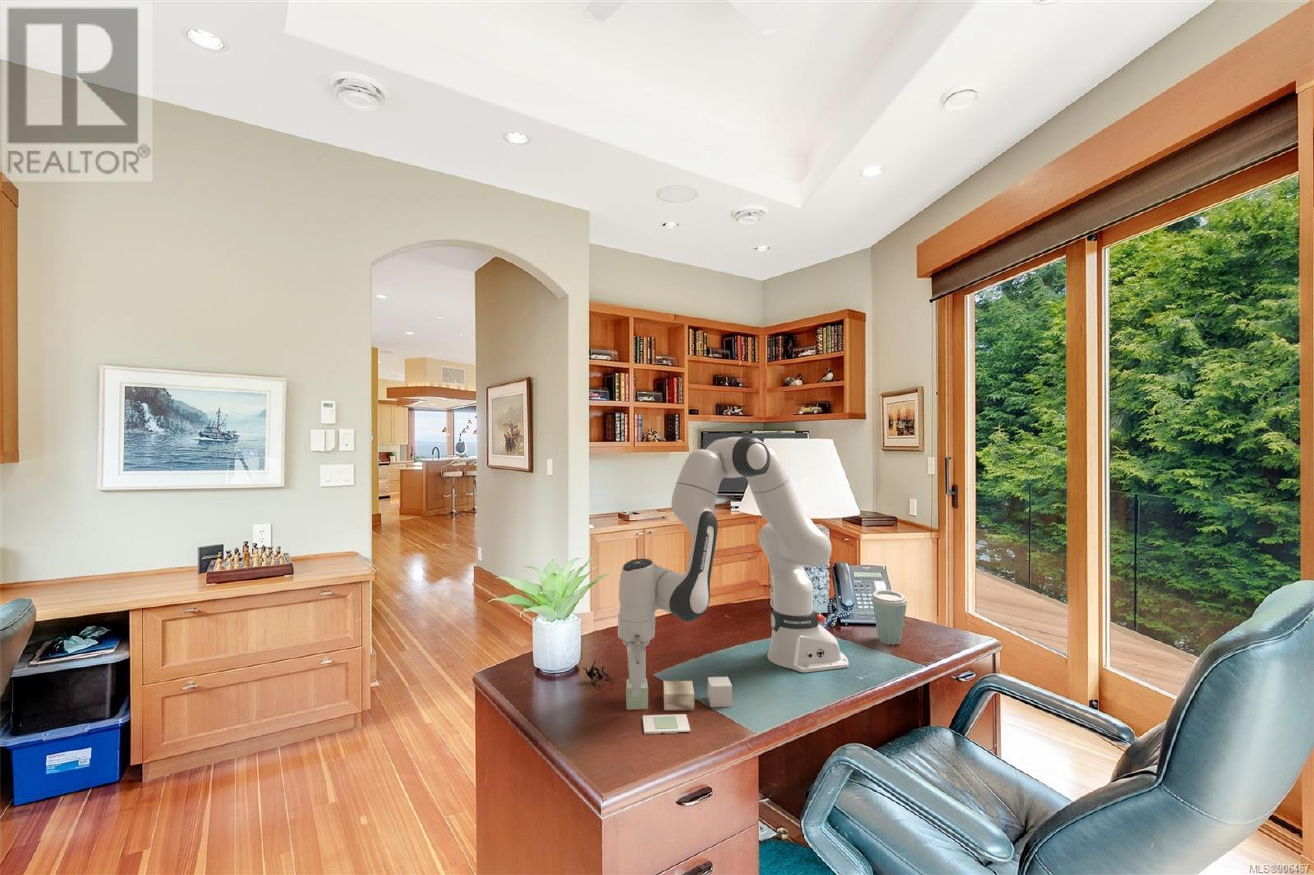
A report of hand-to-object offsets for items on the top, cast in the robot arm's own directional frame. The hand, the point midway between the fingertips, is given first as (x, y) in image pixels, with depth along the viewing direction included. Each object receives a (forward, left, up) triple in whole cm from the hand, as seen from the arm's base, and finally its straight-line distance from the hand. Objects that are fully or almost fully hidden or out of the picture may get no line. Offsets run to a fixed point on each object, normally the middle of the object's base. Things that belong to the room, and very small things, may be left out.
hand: (635, 686), depth 132 cm
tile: (-6, +10, -4) cm, 13 cm away
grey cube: (-20, 0, -4) cm, 21 cm away
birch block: (-10, 0, -5) cm, 11 cm away
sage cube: (0, 0, -4) cm, 4 cm away
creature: (+8, -12, -5) cm, 15 cm away
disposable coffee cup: (-81, -36, -4) cm, 89 cm away
